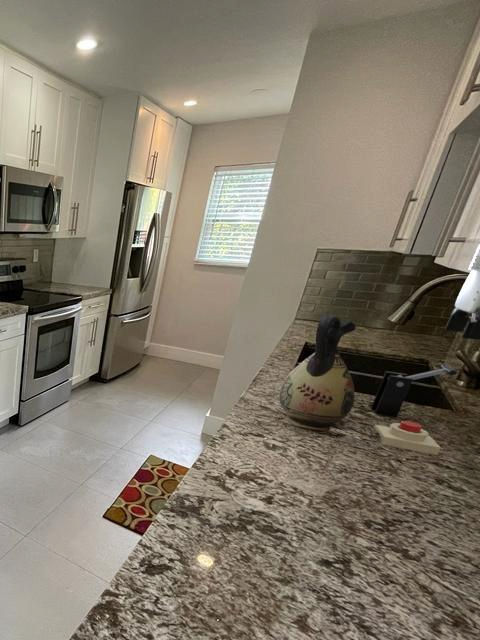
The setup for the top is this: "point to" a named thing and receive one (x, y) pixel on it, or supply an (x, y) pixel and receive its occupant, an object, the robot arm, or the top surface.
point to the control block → (407, 439)
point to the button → (410, 426)
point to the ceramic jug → (320, 381)
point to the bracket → (391, 394)
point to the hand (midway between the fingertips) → (461, 334)
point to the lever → (433, 372)
